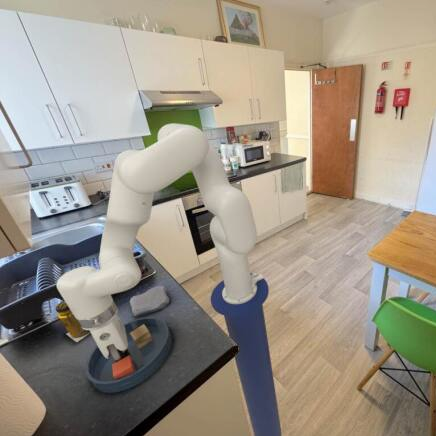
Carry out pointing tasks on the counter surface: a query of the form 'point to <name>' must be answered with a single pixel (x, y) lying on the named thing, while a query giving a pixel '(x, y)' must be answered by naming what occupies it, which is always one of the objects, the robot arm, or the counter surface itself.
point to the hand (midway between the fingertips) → (124, 360)
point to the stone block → (149, 301)
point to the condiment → (70, 322)
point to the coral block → (123, 368)
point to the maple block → (141, 336)
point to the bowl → (132, 357)
